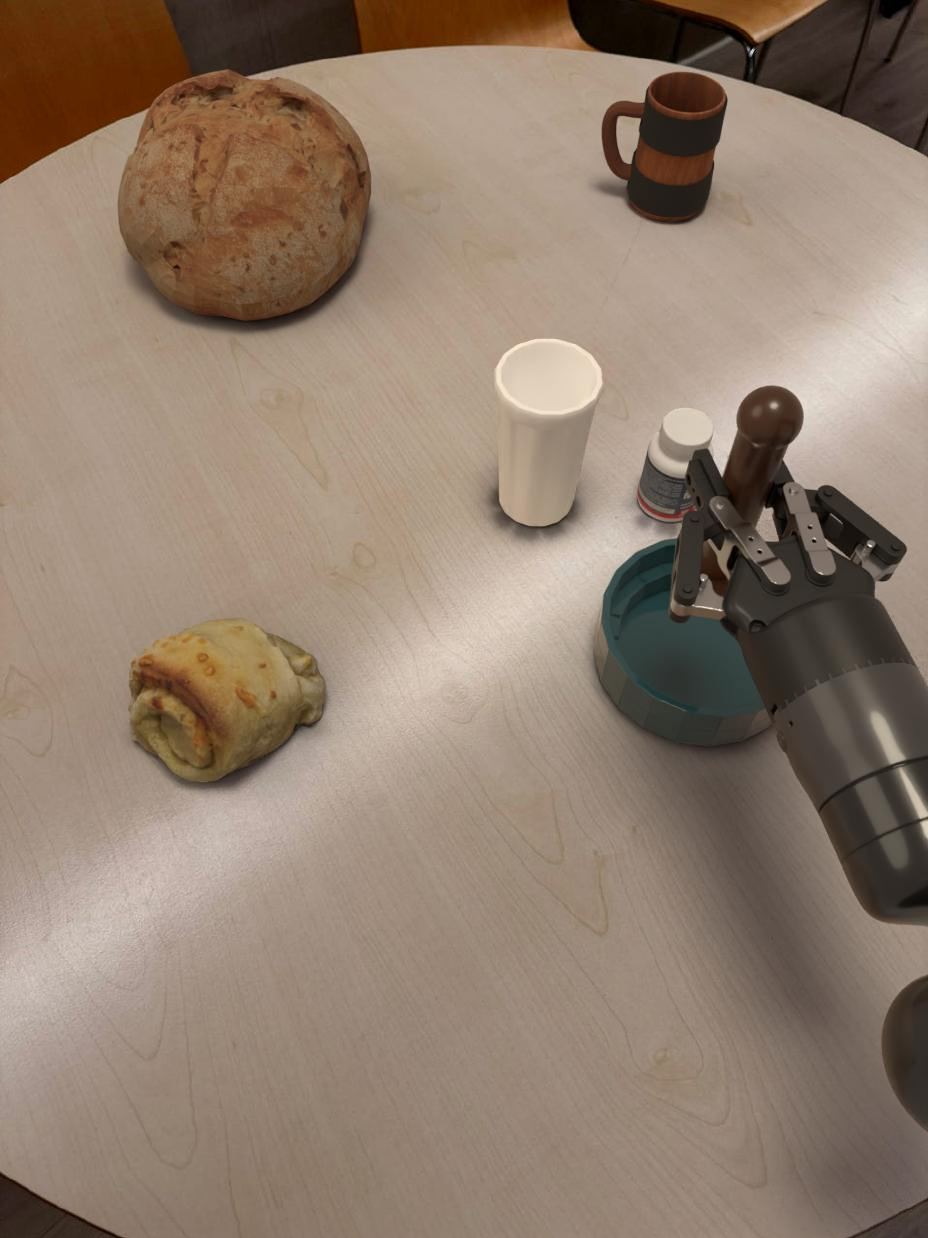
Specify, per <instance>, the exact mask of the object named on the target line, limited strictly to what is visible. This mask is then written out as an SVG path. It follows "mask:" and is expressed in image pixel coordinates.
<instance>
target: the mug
mask: <svg viewBox="0 0 928 1238" xmlns="http://www.w3.org/2000/svg"><path fill="white" fill-rule="evenodd" d="M728 101H729V99H728V95H727V93H726V91H725V89H724V87H723V86H722V85H721V84H720V82H718V81H716V80H715V79H713V78H712V77H709V76H707V75H705V74H701V73H697V72H691V71H672V72H667V73H664V74H661V75H659V76H657V77H655V78H654V79H653V80H652V81H651V82H650V83H649V85H648V86H647V87H646V90H645V96H644V102H636V101H631V100H618V101H615V102H614V103H612V104H611V105H610V106H609V107H608V108H606V111H605V113H604V115H603V117H602V122H601V144H602V150H603V156H604V159H605V161H606V164H607V166H608V169H609V170H610V171H611V173H612V174H613V175H615V176H616V177H617V178H619V179H621V180H623V181H626V182H627V184H626V194H627V197H628V199H629V202H630V203H631V205H632V206H633V208H634V209H635V211H637V212H638V213H640V214H641V215H643V216H644V217H647V218H649V219H651V220H655V221H657V222H658V221H659V222H665V223H667V222H668V223H672V222H673V223H675V222H681V221H684V220H685V221H686V220H687V219H690V218H692V217H694V216H695V215H696V214H698V213H699V211H701V210H702V209H703V208H704V207H705V206H706V204H707V203H708V200H709V196H710V193H711V189H712V183H713V177H714V170H715V159H714V158H715V153H716V148H717V146H718V145H719V143H720V140H721V136H722V132H723V131H722V130H723V125H724V120H725V117H726V116H725V115H726V112H727V107H728ZM619 117H626V118H631V119H640V121H639V126H638V134H639V135H638V139H637V145H636V148H635V150H634V151H633V154H632V158H631V163H626V162H625V161H624V160H623V158H622V156H621V153H620V149H619V145H618V136H617V125H618V119H619Z"/></svg>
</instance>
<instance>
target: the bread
mask: <svg viewBox="0 0 928 1238" xmlns="http://www.w3.org/2000/svg"><path fill="white" fill-rule="evenodd" d="M122 171H123V172H122V174H121V178H120V184H119V188H118V190H119V191H118V195H117V220H118V227H119V232H120V236H121V237H122V241H123V242H124V245H125V247H126V249H127V252H128V253H129V254H130V256H131V258H133V260H134V261H135V262H136V263H137V264H138V265H139V266H140V267H141V268H142V270H143V271H144V272H145V273H146V275H147V276H148V278H149V279H150V281H151V282H152V283H153V285H154V287H155V288H156V289H157V291H158V292H159V293H161V294H162V295H163V296H164V297H166V298H167V299H168V300H169V301H171V302H172V303H173V304H175V305H176V306H179V307H181V308H183V309H185V310H188V311H190V312H192V313H194V314H196V315H198V316H209V317H225V318H230V319H234V320H238V321H243V322H249V321H258V320H265V319H270V318H275V317H278V316H282V315H287V314H290V313H292V312H295V311H298V310H300V309H303V308H305V307H307V306H310V305H311V304H312V303H314V302H315V301H316V300H317V299H319V298H320V297H322V295H324V294H326V292H327V291H328V290H330V288H332V287H333V286H334V285H335V284H336V283H337V282H338V281H339V280H340V278H341V277H342V276H343V275H344V274H345V273H346V271H347V270H348V269H349V268H350V267H351V266H352V265H353V262H354V260H355V258H356V256H357V254H358V251H359V249H360V247H361V246H360V245H361V241H362V240H361V239H362V234H363V228H364V222H365V218H366V215H367V212H368V209H369V205H370V202H371V201H370V200H371V197H372V172H371V167H370V161H369V157H368V154H367V151H366V149H365V147H364V144H363V142H362V140H361V138H360V135H359V134H358V132H357V131H356V129H355V128H354V127H353V126H352V124H351V123H350V122H349V121H348V119H347V118H346V117H345V116H344V115H343V114H342V113H341V112H340V111H339V110H338V109H337V108H336V107H335V106H334V105H333V104H331V103H330V102H329V101H328V100H326V99H325V98H324V97H323V96H322V95H321V94H319V93H317V92H315V91H313V89H310V88H309V87H307V86H306V85H303V84H301V83H299V82H296V81H295V80H292V79H290V78H286V77H280V76H275V77H270V78H269V79H259V78H257V79H256V78H248V77H247V76H244V75H242V74H240V73H238V72H236V71H234V70H231V69H227V68H226V69H221V70H216V71H210V72H207V73H203V74H199V75H197V76H193V77H191V78H186V79H185V80H182V81H179V82H176V83H175V84H173V85H171V86H170V87H167V88H166V89H165V90H164V91H163V92H161V93H160V94H159V95H158V96H157V97H156V98H155V99H154V100H153V102H152V103H151V105H150V106H149V108H148V110H147V112H146V114H145V117H144V119H143V121H142V124H141V127H140V130H139V134H138V137H137V141H136V146H135V147H134V148H133V152H132V153H131V154H130V155H129V156H127V159H126V162H125V165H124V168H123V170H122Z"/></svg>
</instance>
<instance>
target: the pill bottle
mask: <svg viewBox="0 0 928 1238" xmlns="http://www.w3.org/2000/svg"><path fill="white" fill-rule="evenodd" d="M714 431H715V430H714V423H713V421H712V420H711V418H710V417H709V416H708V415H707V414H706V413H704V412H702V411H701V410H699V409H696V408H692V407H678V408H675V409H672V410H670V411H669V412H668V413H666V414H665V415H664V417H663V419H662V423H661V426H660V429H658V431H656V433H654V434H653V436H651V439H650V440H649V442H648V443H649V444H648V446H647V450H646V455H645V458H644V459H645V460H644V463H643V467H642V470H641V475H640V479H639V482H638V485H637V490H636V498H637V502H638V504H639V507H640V508H641V509H642V511H643V512H644V513H646V514H647V515H648V516H649V517H651V518H653V519H655V520H658V521H662V522H665V523H667V522H668V523H675V522H682V520H683V517H684V514H685V513H686V512H688V511H691V510H695V511H697V509H696V507H695V505H694V503H693V501H692V498H691V495H690V494H689V492H688V490H687V487H686V485H685V474H686V471H687V467H688V464H689V461H690V460H692V456H693V453H694V451H695V450H700V449H705V448H707V449H708V450H709V451H710V453H711V455H712V458H713V459H714V456H715V451H714V446H713V444H712V440H713V436H714Z"/></svg>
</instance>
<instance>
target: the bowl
mask: <svg viewBox="0 0 928 1238" xmlns="http://www.w3.org/2000/svg"><path fill="white" fill-rule="evenodd" d="M676 540H677V537H675V538H666V539H663V540H660V541H658V542H656V543H653V544H651V545H648V546H646V547H644V548H641V549H639V550H637V551H635V552H634V553H633V554H632V555H631V556H630V557H628V559H626V560H625V561H624V562H623V563H622V564H621V565H620V566H619V567H617V569H615V570H614V573H613V575H612V577H611V579H610V581H609V583H608V585H607V586H606V589H605V590H604V593H603V595H602V598H601V603H600V608H599V613H598V618H597V622H596V627H595V633H594V635H595V637H594V646H593V658H594V661H595V665H596V669H597V672H598V677H599V680H600V682H601V684H602V685H603V687H604V688H605V690H606V692H607V693H608V694H609V696H610V698H611V699H612V701H613V702H614V704H615V705H616V707H617V708H619V709H620V710H621V711H622V712H623V713H625V714H626V715H627V716H628V717H629V718H630V719H632V720H633V721H634V722H636V723H637V725H639V726H641V728H644V730H647V731H649V732H651V733H653V734H656V735H658V736H660V737H663V738H664V739H665V738H666V739H667V740H670V741H672V742H675V743H680V744H687V745H696V746H702V747H713V746H717V745H726V744H731V743H732V744H733V743H740V742H742V741H744V740H746V739H748V738H751V737H752V736H754V735H756V734H758V733H760V732H763V731H765V730H766V729H768V728H770V726H772V725H773V724H772V722H771V719H770V717H769V715H768V713H767V710H766V708H765V706H764V703H763V701H762V699H761V697H760V694H759V692H758V690H757V688H756V685H755V683H754V681H753V679H752V676H751V674H750V672H749V670H748V667H747V665H746V663H745V660H744V657H743V653H742V650H741V647H740V645H739V643H738V642H737V641H736V639H735V638H734V637H733V636H732V635H730V634H729V633H728V632H727V631H725V630H724V628H723V627H722V626H721V624H720V622H719V620H716V619H710V618H703V617H697V616H690V618H689V620H688V621H687V622H685V623H676V622H674V621H672V620H671V619H670V617H669V615H668V610H669V601H670V592H671V582H672V578H671V573H672V568H673V564H674V555H675V546H676Z"/></svg>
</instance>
